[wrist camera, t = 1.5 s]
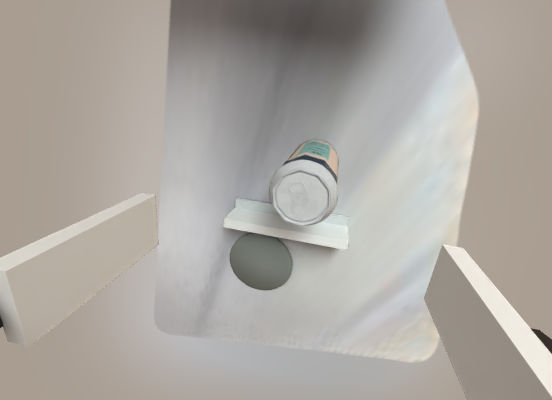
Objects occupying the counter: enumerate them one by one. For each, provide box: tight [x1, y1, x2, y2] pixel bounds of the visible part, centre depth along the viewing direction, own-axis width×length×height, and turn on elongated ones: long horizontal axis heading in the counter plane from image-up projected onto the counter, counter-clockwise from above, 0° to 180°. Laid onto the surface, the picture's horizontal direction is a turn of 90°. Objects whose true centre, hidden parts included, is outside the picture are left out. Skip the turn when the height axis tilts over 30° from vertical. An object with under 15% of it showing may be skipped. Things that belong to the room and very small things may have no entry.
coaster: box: [230, 233, 292, 290], centre depth 35 cm, size 8×8×1 cm
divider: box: [224, 198, 350, 250], centre depth 30 cm, size 3×13×4 cm, turn 85°
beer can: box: [269, 140, 339, 226], centre depth 24 cm, size 5×5×12 cm
